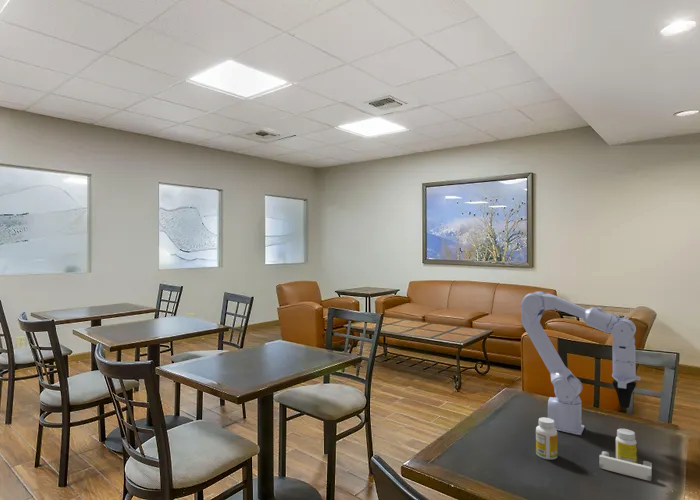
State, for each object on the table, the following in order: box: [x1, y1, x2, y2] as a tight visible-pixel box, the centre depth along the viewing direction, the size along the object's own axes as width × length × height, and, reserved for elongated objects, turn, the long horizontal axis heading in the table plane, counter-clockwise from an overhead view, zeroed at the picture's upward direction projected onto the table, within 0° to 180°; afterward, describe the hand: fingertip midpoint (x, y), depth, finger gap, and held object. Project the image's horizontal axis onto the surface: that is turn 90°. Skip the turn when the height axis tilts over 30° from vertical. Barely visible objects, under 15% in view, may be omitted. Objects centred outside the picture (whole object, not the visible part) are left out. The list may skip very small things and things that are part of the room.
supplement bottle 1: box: [535, 417, 558, 460], centre depth 117 cm, size 5×5×10 cm
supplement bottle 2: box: [615, 428, 638, 464], centre depth 113 cm, size 5×5×8 cm
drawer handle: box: [598, 450, 653, 482], centre depth 110 cm, size 11×8×3 cm
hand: (624, 406), depth 125 cm, fingers closed
